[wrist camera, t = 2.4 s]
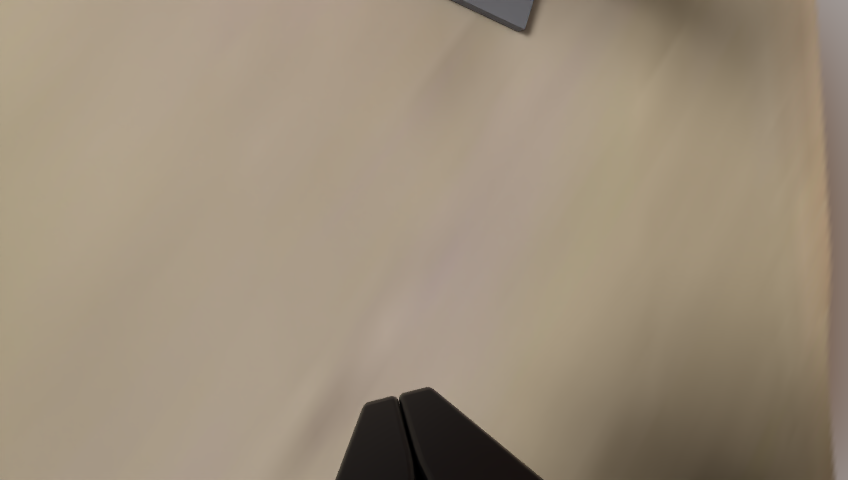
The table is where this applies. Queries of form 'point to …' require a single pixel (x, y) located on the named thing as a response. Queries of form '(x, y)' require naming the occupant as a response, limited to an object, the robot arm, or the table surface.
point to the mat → (502, 11)
